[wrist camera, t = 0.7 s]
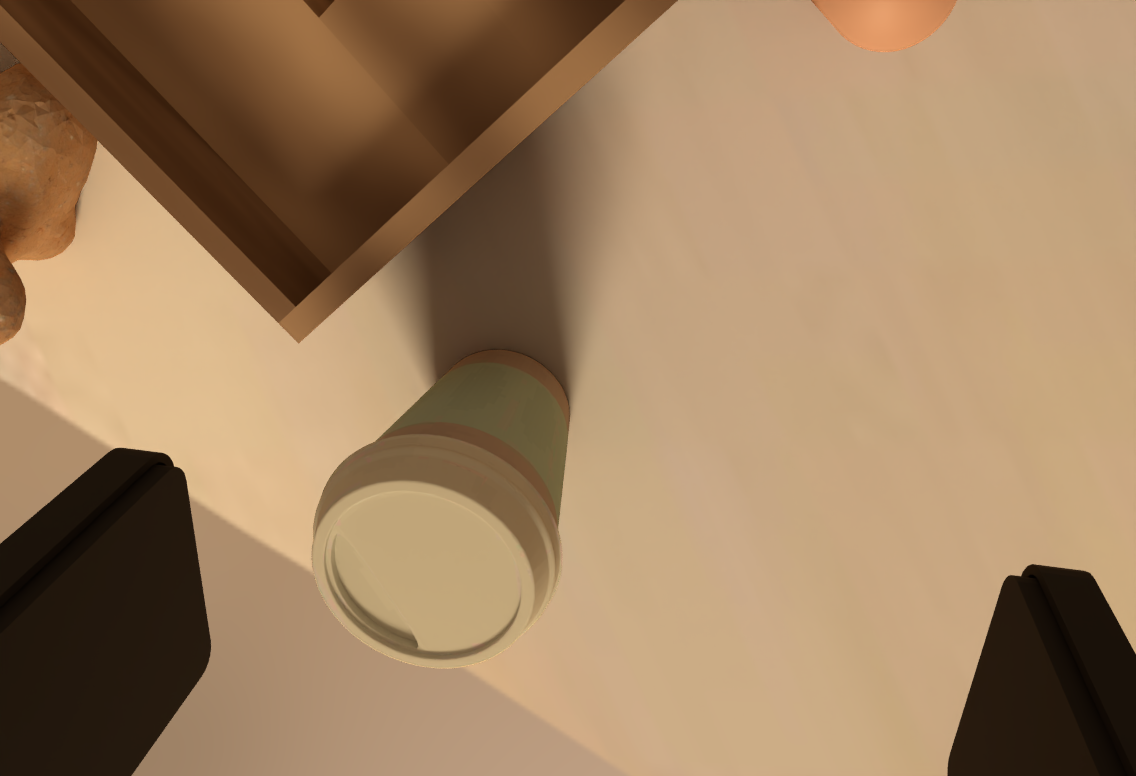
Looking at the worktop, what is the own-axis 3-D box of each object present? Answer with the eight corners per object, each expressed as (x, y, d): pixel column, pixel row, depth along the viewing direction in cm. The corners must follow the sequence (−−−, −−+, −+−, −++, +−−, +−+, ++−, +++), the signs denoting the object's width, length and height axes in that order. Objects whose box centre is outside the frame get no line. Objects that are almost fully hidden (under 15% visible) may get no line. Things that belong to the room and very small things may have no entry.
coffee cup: (407, 306, 40) (286, 446, 29) (610, 332, 39) (560, 485, 28) (409, 480, 44) (302, 659, 33) (593, 507, 43) (544, 701, 32)
